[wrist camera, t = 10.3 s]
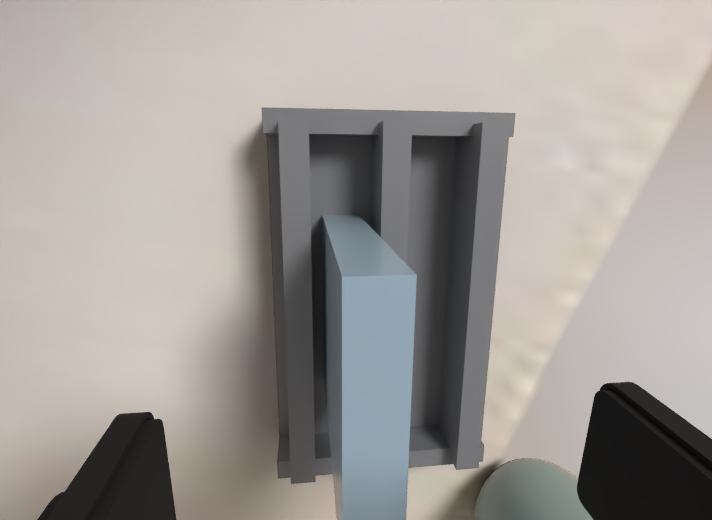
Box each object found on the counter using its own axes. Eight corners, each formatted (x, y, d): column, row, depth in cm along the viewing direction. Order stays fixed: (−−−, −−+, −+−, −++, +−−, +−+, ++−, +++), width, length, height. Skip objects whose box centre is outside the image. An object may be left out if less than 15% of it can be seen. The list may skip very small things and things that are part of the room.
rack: (267, 114, 20) (259, 104, 16) (486, 119, 21) (527, 110, 17) (281, 440, 24) (276, 493, 20) (462, 426, 25) (490, 474, 22)
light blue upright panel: (322, 215, 20) (341, 276, 10) (358, 214, 21) (416, 275, 10) (324, 380, 22) (342, 578, 12) (357, 378, 23) (403, 572, 12)
